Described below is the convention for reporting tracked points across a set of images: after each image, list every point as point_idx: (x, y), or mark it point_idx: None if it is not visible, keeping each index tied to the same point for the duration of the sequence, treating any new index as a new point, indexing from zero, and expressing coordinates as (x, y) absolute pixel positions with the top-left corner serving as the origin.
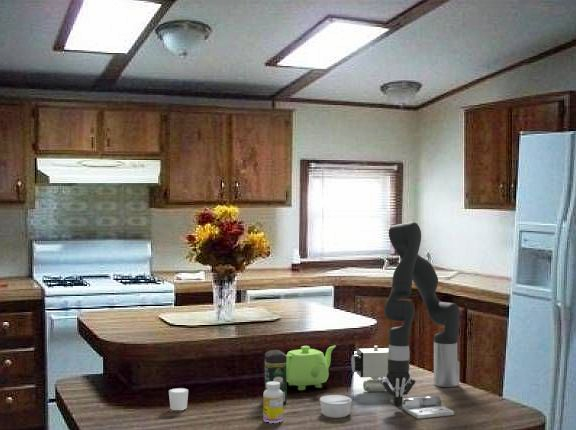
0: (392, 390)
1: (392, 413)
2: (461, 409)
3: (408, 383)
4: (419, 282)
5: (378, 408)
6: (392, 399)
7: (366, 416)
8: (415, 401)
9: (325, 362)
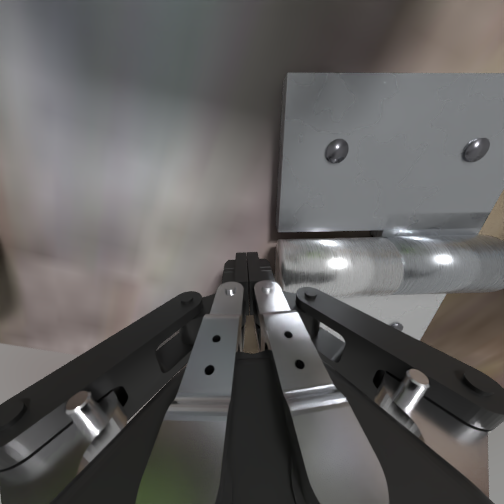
0: (210, 310)
1: (211, 274)
2: (488, 298)
3: (374, 396)
4: None
5: (169, 183)
6: (306, 75)
7: (87, 281)
8: (339, 297)
9: None
